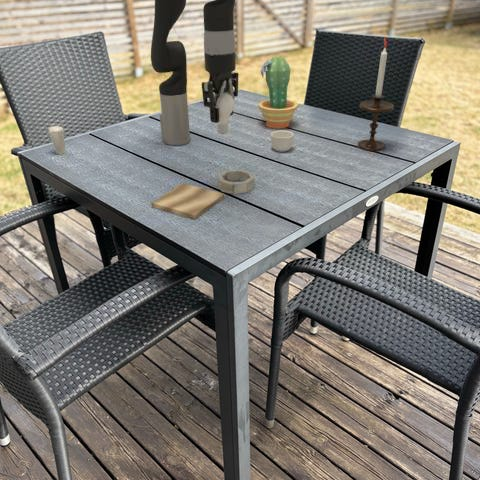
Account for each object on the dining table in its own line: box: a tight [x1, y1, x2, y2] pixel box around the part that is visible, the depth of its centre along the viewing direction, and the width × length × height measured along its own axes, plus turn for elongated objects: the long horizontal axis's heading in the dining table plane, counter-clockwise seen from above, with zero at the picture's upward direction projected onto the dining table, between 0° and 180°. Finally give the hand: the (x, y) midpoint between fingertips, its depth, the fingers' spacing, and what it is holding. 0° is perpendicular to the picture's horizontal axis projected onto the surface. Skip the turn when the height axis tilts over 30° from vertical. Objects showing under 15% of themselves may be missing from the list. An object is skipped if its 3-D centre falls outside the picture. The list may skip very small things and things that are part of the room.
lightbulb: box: [214, 92, 235, 135], centre depth 120 cm, size 6×6×11 cm
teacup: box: [270, 129, 295, 153], centre depth 158 cm, size 10×8×5 cm
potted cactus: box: [257, 55, 299, 129], centre depth 175 cm, size 15×15×25 cm
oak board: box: [151, 183, 225, 220], centre depth 125 cm, size 14×14×1 cm
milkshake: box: [48, 121, 67, 155], centre depth 156 cm, size 4×5×10 cm
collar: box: [217, 169, 256, 195], centre depth 133 cm, size 10×10×3 cm
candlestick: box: [357, 37, 395, 152], centre depth 150 cm, size 11×11×35 cm
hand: (222, 118), depth 121 cm, fingers closed on lightbulb, 6 cm apart
